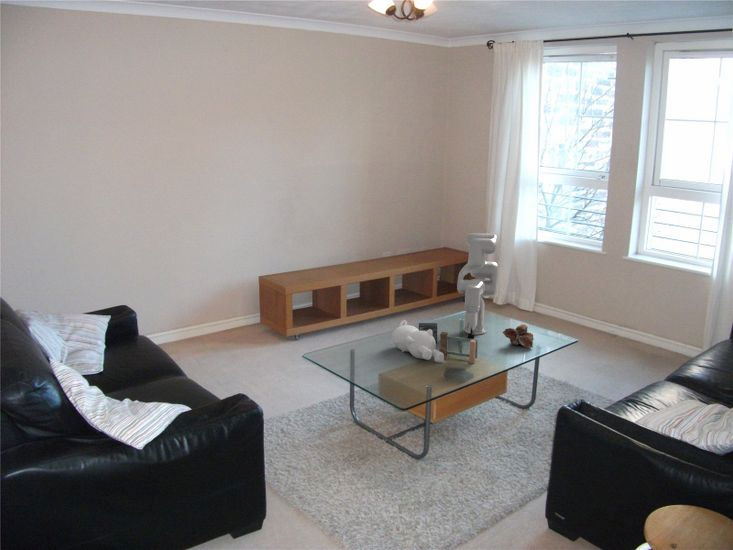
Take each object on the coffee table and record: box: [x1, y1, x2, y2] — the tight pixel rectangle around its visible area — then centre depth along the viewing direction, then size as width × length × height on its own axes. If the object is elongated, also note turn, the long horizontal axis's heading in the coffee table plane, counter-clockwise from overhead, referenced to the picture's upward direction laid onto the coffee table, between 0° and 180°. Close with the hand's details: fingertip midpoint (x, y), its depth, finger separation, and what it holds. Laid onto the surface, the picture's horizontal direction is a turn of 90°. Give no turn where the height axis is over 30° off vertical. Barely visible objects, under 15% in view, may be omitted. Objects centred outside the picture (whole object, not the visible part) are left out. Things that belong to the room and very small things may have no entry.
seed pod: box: [502, 323, 535, 348], centre depth 368 cm, size 14×18×16 cm
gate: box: [447, 335, 479, 359], centre depth 349 cm, size 18×2×11 cm, turn 68°
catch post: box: [468, 340, 476, 364], centre depth 343 cm, size 2×2×12 cm
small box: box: [418, 322, 438, 345], centre depth 373 cm, size 11×6×10 cm, turn 84°
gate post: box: [439, 331, 449, 360], centre depth 349 cm, size 3×3×14 cm
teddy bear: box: [391, 319, 445, 364], centre depth 354 cm, size 19×18×35 cm
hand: (470, 340), depth 349 cm, fingers closed
